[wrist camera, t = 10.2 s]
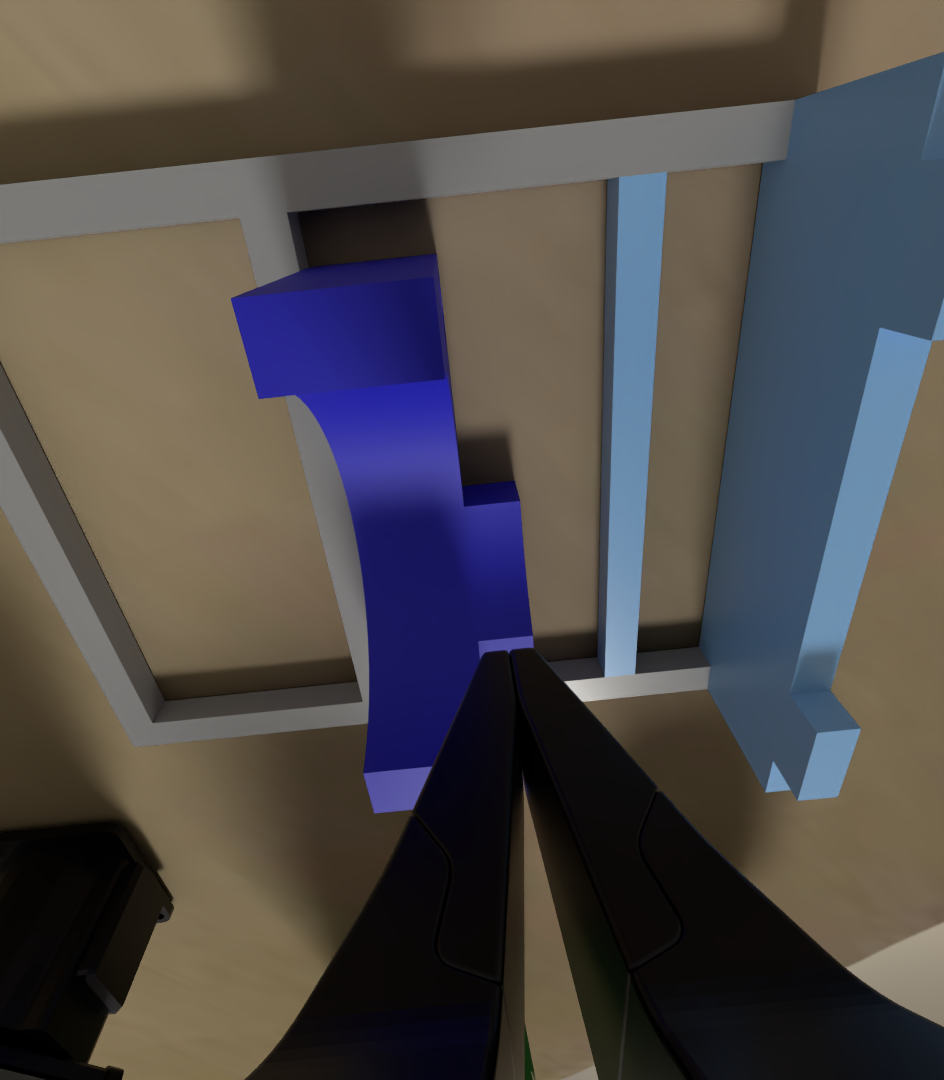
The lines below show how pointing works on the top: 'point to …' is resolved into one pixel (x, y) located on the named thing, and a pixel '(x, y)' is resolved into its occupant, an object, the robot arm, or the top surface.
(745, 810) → the top surface
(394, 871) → the robot arm
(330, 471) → the blue grey rack
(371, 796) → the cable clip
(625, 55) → the top surface
